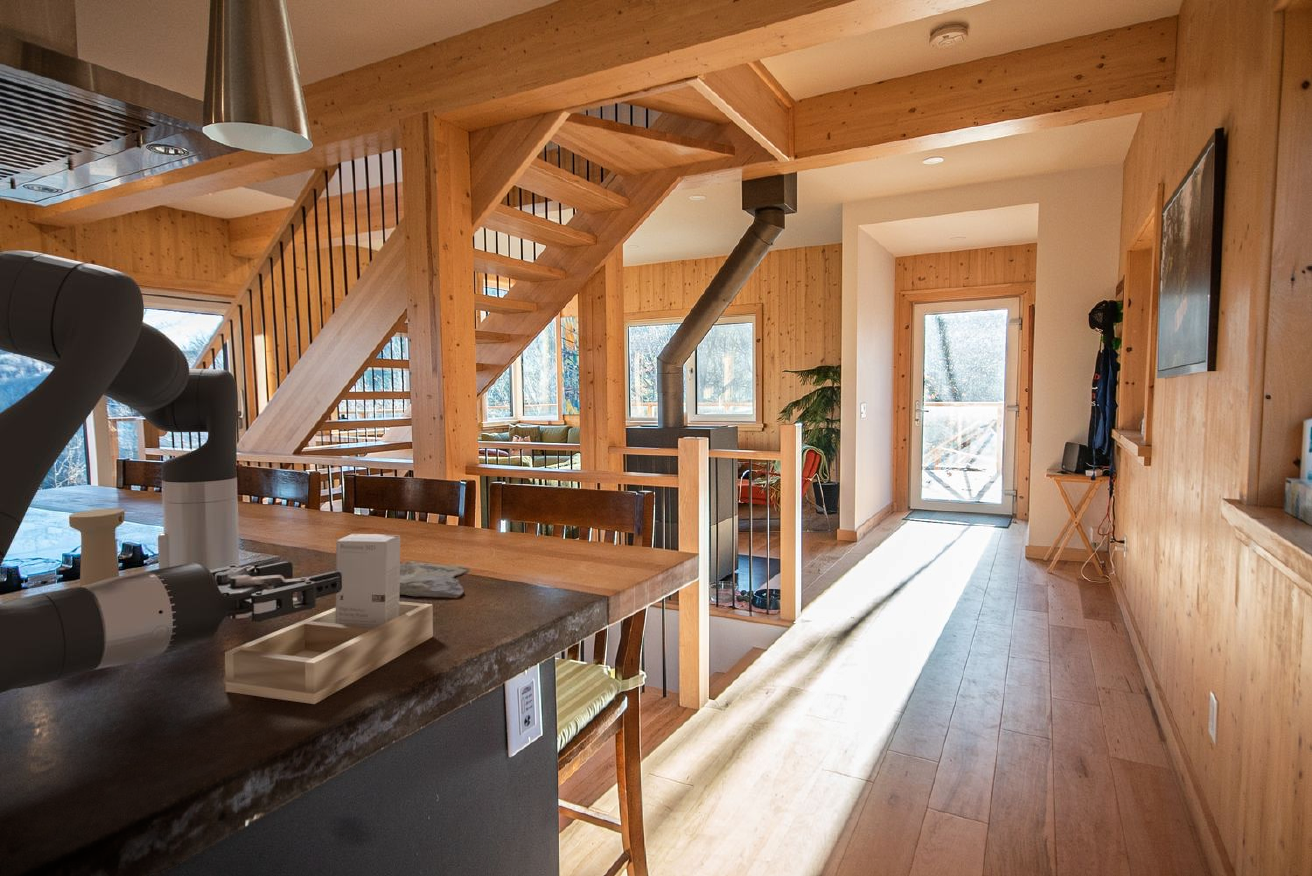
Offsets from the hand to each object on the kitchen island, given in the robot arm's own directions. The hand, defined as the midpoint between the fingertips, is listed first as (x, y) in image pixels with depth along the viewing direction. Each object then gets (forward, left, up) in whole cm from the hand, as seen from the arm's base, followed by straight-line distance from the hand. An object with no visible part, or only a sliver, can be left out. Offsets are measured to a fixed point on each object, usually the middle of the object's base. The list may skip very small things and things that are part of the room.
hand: (314, 575), depth 76 cm
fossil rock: (+10, +34, -11) cm, 37 cm away
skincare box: (+5, +5, -9) cm, 11 cm away
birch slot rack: (+2, +1, -10) cm, 10 cm away
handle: (-28, +18, -10) cm, 34 cm away
